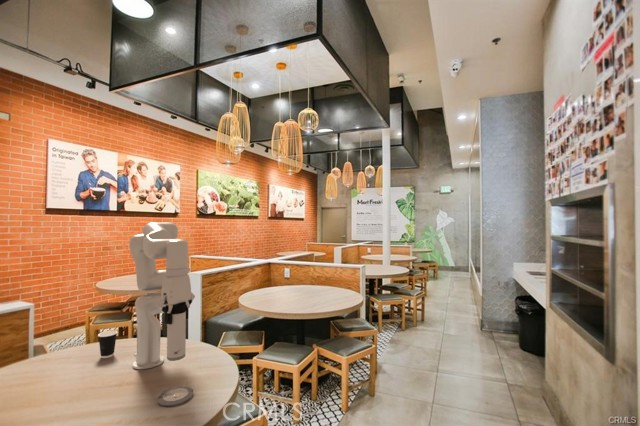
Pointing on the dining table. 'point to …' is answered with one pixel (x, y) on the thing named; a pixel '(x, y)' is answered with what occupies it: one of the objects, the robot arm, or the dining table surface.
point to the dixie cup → (107, 343)
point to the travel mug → (177, 333)
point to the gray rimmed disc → (175, 396)
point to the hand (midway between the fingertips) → (176, 320)
